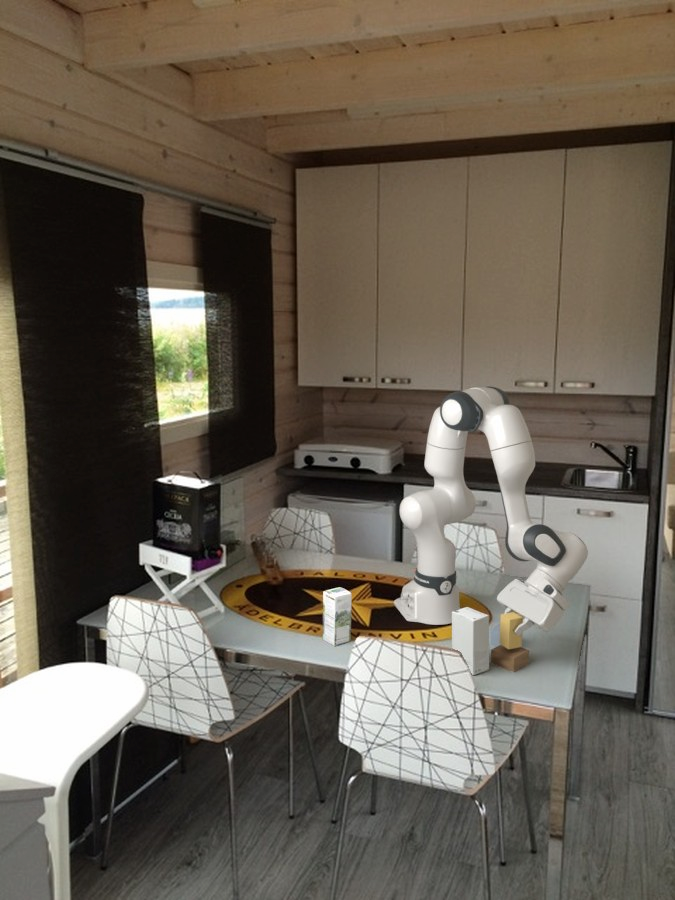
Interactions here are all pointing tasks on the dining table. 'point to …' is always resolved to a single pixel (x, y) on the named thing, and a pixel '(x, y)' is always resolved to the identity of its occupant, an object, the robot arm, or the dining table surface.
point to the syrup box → (337, 616)
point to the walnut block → (509, 657)
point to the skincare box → (471, 638)
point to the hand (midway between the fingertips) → (509, 629)
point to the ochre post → (510, 630)
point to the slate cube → (495, 636)
